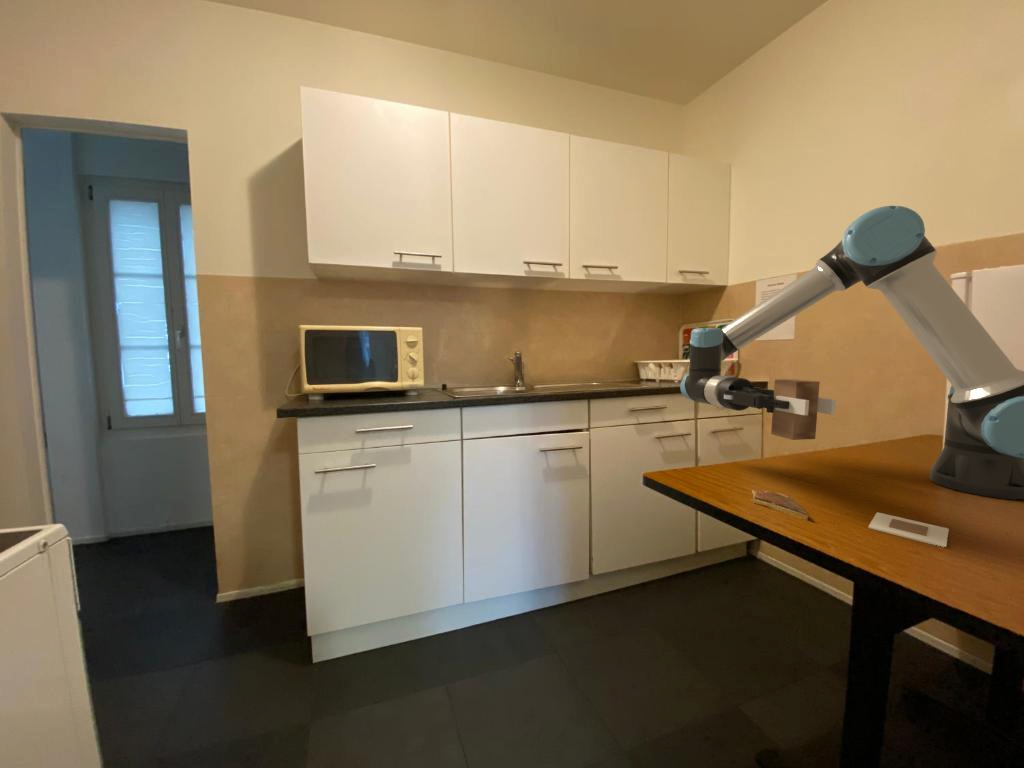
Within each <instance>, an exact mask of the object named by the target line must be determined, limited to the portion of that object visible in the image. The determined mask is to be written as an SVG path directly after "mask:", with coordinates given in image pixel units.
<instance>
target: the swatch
mask: <svg viewBox="0 0 1024 768" xmlns="http://www.w3.org/2000/svg"><path fill="white" fill-rule="evenodd" d="M867 527H868V528H867V529H870V530H874V531H879V532H881V533H886V534H890V535H895V536H898V537H901V538H906V539H909V540H913V541H917V542H922V543H925V544H929V545H933V546H936V545H937V547H940V546H941V548H944V547H946V548H947V545H948V539H947V538H948V536H949V530H950V529H949V528H948V527H945V526H944V527H943V526H939V525H935V524H930V523H926V522H921V521H917V520H913V519H908V518H904V517H900V516H897V515H896V516H895V515H890V514H887V513H882V512H878V511H877V512H876V513H875V514H874V517H872V519H871V521H870V523H869V525H868V526H867Z"/></svg>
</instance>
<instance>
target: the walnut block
mask: <svg viewBox="0 0 1024 768" xmlns="http://www.w3.org/2000/svg"><path fill="white" fill-rule="evenodd" d="M820 382H821V381H818V380H805V379H796V378H795V379H794V378H793V379H792V378H791V379H790V378H789V379H787V378H785V379H774V383H773V385H774V387H773V390H774V399H776V396H783V397H789V398H796V399H803V400H809V409H808V415H800V414H794V413H789V412H784V411H779V410H775V407H774V409H773V413H771V414H772V416H771V433H770V434H771V435H772V436H776V437H780V438H784V439H789V440H791V441H797V440H800V441H801V440H803V441H804V440H816V436H817V435H816V433H817V421H818V412H817V407H818V397H819V395H820V393H819V392H820ZM819 398H820V397H819Z"/></svg>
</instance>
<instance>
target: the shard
mask: <svg viewBox="0 0 1024 768" xmlns="http://www.w3.org/2000/svg"><path fill="white" fill-rule="evenodd" d="M751 492H752V495H753V497H751V499H750V500H751V503H752V502H753V503H752V504H755V503H756V505H759V506H763V507H766V508H769V509H772V510H775V511H777V512H780V513H783V514H784V515H788V516H791V517H795V518H798V519H801V520H804V521H808V518H809V517H810V515H809V514H808V513H807V512H806V510H804V509H803V508H802V507H801V505H800V504H798V502H797V501H795V499H793V498H792V497H791V496H790V495H785V494H782V493H779V492H776V491H775V492H774V491H766V490H757V489H753V490H751Z"/></svg>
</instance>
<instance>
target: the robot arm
mask: <svg viewBox="0 0 1024 768" xmlns="http://www.w3.org/2000/svg"><path fill="white" fill-rule="evenodd" d="M925 232H926V229H925V222H924V220H923V218H922V217H921V215H920V214H919V213H918V212H916V211H915V210H913V209H912V208H909V207H907V206H906V207H905V206H901V205H885V206H879V207H877V208H874V209H870V210H869V211H867V212H865V213H863V214H861V215H860V216H859V217H857V218H856V219H855V220H854V221H852V222H851V224H850V225H849V226H848V227H847V228H846V230H845V231H844V233H843V235H842V238H841V240H840V241H839V242H838V243H837V244H836V246H835V247H833V248H832V249H831V250H830V251H829V252H828V253H826V254H825V255H824V256H822V257H820V258H819V259H818V260H816V263H815V264H816V265H815V266H814V267H813V268H811V269H810V270H808V271H807V272H806V273H804V274H802V275H801V276H799V277H798V278H796V279H795V280H793V281H791V282H790V283H788V284H787V285H786V286H784V287H782V288H781V289H779V290H778V291H776V292H775V293H774V294H772V295H770V296H769V297H767V298H766V299H764V300H763V301H761V302H760V303H758V304H757V305H755V306H753V307H752V308H751V309H749V310H747V311H746V312H745V313H743V314H741V315H740V316H738V317H737V318H736V319H734V320H732V321H731V322H729V323H728V324H726V325H725V326H723V327H722V328H718V327H698V328H693V329H692V330H691V332H690V340H689V369H688V374H686V375H685V376H683V378H682V379H681V382H680V385H679V387H680V393H681V394H682V395H683V397H684V398H685V399H688V400H690V401H693V402H695V403H701V404H706V405H711V406H717V407H718V409H720V410H723V409H724V408H725V409H728V410H732V411H733V410H734V411H736V412H737V411H744V410H747V409H748V408H749V407H750V408H754V409H758V410H761V409H766V413H768V414H769V413H770V414H773V409H774V407H775V410H779V411H784V412H789V413H794V414H800V415H808V409H809V400H803V399H796V398H789V397H783V396H776V399H774V389H768V388H763V387H758V386H754V385H753V383H752V382H751V381H749V379H746V378H744V377H743V378H742V377H736V376H735V377H734V376H726V375H721V374H722V362H723V361H725V360H727V358H728V357H730V356H731V355H733V354H734V353H736V352H738V351H739V350H741V349H742V348H744V347H745V346H747V345H749V344H750V343H752V342H754V341H755V340H758V339H759V338H760V337H763V335H765V334H767V333H769V332H770V331H772V330H774V329H776V328H777V327H778V326H781V324H783V323H785V322H787V321H789V320H790V319H792V318H793V317H795V316H797V315H798V314H800V313H801V312H803V311H805V310H806V309H809V308H810V307H811V306H813V305H814V304H816V303H818V302H820V301H821V300H823V299H824V298H826V297H828V296H829V295H831V294H832V293H834V292H839V291H841V292H844V291H846V290H848V289H849V288H851V287H852V286H854V285H856V284H858V283H861V282H862V283H863V285H864V286H865V287H866V288H867V289H873V290H878V291H881V293H882V294H883V295H884V297H885V298H886V299H887V300H888V302H889V303H890V305H891V307H893V309H894V310H895V311H896V313H897V314H898V315H899V317H900V318H901V319H902V320H903V322H904V323H905V325H906V326H907V328H908V329H909V330H910V332H911V334H913V335H914V337H915V338H916V340H917V341H918V342H919V344H920V345H921V346H922V348H923V349H924V350H925V351H926V353H927V354H928V356H929V357H930V359H932V361H933V362H934V363H935V365H936V366H937V367H938V369H939V371H941V373H942V374H943V375H944V377H945V378H946V379H947V381H948V382H949V383H950V385H951V386H950V387H949V393H948V395H947V399H948V400H947V401H948V402H947V412H946V422H945V432H944V441H943V442H944V443H943V448H942V450H941V452H940V454H939V455H938V457H937V458H936V460H935V462H934V463H933V465H932V467H931V468H930V473H929V480H930V481H931V482H933V483H934V484H936V485H938V486H939V485H940V486H942V487H944V488H948V489H950V490H951V489H952V490H954V491H955V490H956V491H959V492H963V493H968V494H972V495H978V496H984V497H990V498H997V499H1006V500H1016V499H1024V370H1021V369H1018V368H1017V367H1015V364H1014V363H1012V361H1011V360H1010V359H1009V357H1008V356H1007V355H1006V354H1005V352H1004V351H1003V349H1002V348H1001V347H1000V346H999V345H998V344H997V341H995V340H994V338H993V337H992V336H991V335H990V334H989V332H988V331H987V329H985V327H984V326H983V325H982V324H981V322H980V321H979V320H978V319H977V318H976V316H975V315H974V313H973V312H972V311H971V309H970V308H969V307H968V306H967V304H965V302H964V301H963V300H962V298H961V297H960V296H959V294H958V293H957V292H956V290H954V289H953V287H952V286H951V285H950V284H949V282H948V280H946V278H945V277H944V276H943V275H942V273H941V272H940V270H938V268H937V266H936V265H935V264H934V261H935V259H936V255H937V253H938V251H937V249H936V248H935V247H934V245H932V243H931V242H930V241H929V239H928V238H927V237H926V236H925ZM836 405H837V399H832V398H825V397H818V407H817V413H821V414H826V415H831V416H832V415H834V416H835V415H836V408H837V407H836Z"/></svg>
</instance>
